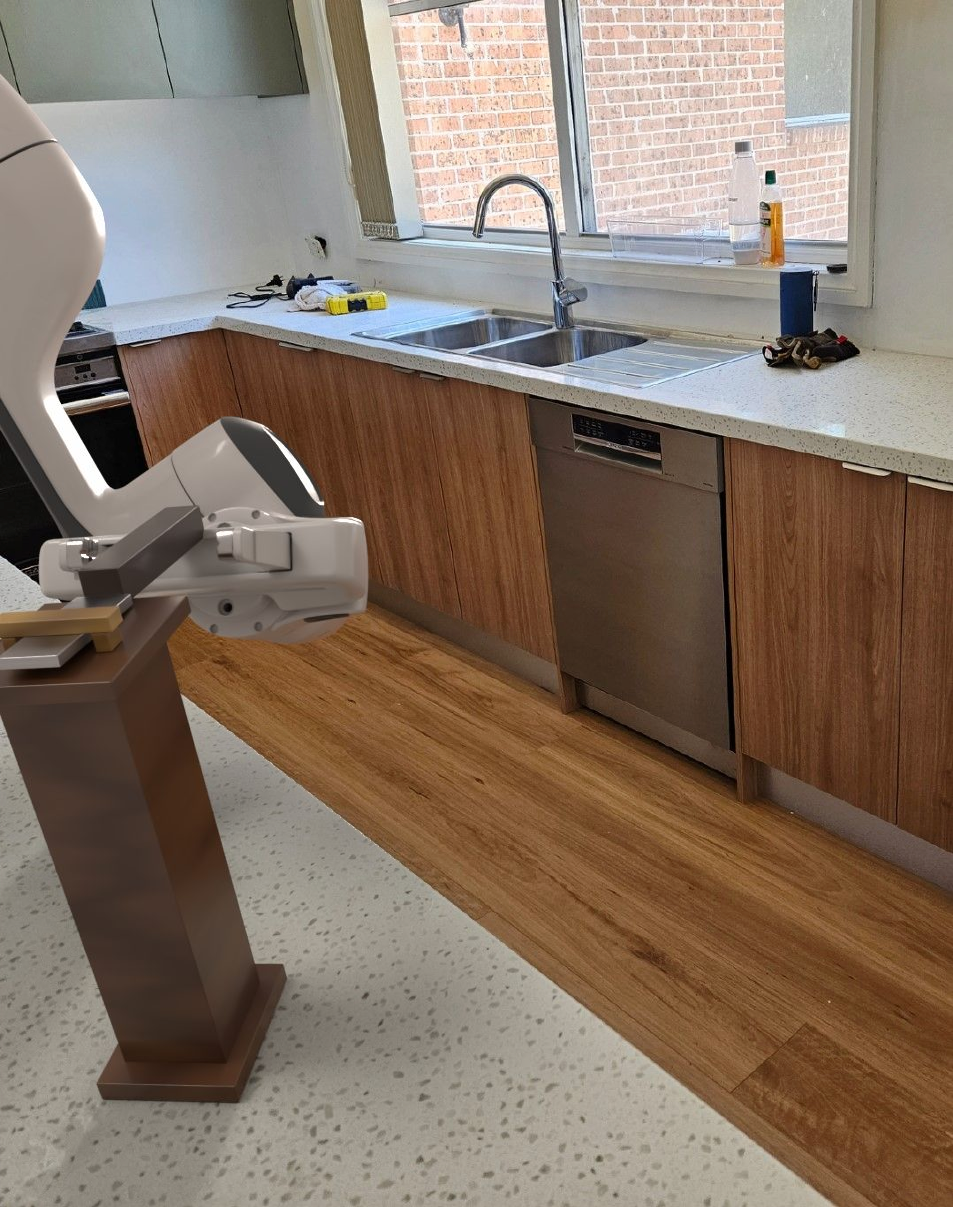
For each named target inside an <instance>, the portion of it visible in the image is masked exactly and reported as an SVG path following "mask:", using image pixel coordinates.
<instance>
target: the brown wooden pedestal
mask: <svg viewBox="0 0 953 1207" xmlns="http://www.w3.org/2000/svg"><path fill="white" fill-rule="evenodd" d="M69 602H70V601H66V602H51V603H50V602H48V603H44V604H42V605H41V606H40V607H39V608H38V609H37V610H28V611H27V610H26V611H11V612H1V613H0V639H1V643H0V655H1V654H3V653H4V652H5V651H7V650H8V649H9V648H11V647H12V646H13V645H15V644H16V643H17V642H18V641H20V640H21V639H22V638H24V637H30V636H48V635H66V634H85V633H92V634H91V635H92V638H93V639H92V640H91V641H90V642H89V643H88V644H87V645H85V646H84V647H83V648H82V649H81V650H80V651H78V652H77V653H76V654H75V655H74V656H73V657H72V658H70V659H69V660H68V661H67V662H66V663H65V664H63V665H62V666H61V667H56V668H36V669H15V670H0V719H1V722H2V725H3V727H4V730H5V733H6V735H7V738H8V741H9V744H10V746H11V749H12V750H11V751H12V752H13V754H14V758H15V761H16V764H17V766H18V769H19V772H20V775H21V777H22V780H23V783H24V785H25V788H26V791H27V794H28V797H29V799H30V803H31V806H32V807H33V810H34V813H35V817H36V819H37V822H38V824H39V828H40V831H41V833H42V835H43V836H42V837H43V838H44V841H45V844H46V846H47V850H48V852H49V855H50V858H51V860H52V864H53V866H54V869H55V872H56V874H57V877H58V880H59V884H60V885H61V888H62V891H63V894H64V896H65V900H66V902H67V905H68V908H69V911H70V914H71V916H72V919H73V921H74V924H75V927H76V930H77V933H78V936H79V939H80V941H81V944H82V947H83V950H84V951H85V955H86V958H87V960H88V963H89V967H90V970H91V971H92V975H93V977H94V980H95V982H96V986H97V988H98V991H99V994H100V997H101V999H102V1002H103V1006H104V1007H105V1010H106V1014H107V1016H108V1019H109V1022H110V1025H111V1027H112V1030H113V1034H114V1036H115V1038H116V1041H117V1044H116V1046H115V1047H114V1049H113V1051H112V1053H111V1055H110V1057H109V1059H108V1060H107V1063H106V1065H105V1067H104V1068H103V1070H102V1072H101V1074H100V1075H99V1078H98V1079H97V1081H96V1087H97V1089H98V1092H99V1095H100V1097H101V1099H102V1100H127V1101H128V1100H129V1101H130V1100H131V1101H133V1100H135V1101H170V1102H171V1101H173V1102H204V1103H205V1102H207V1103H209V1102H211V1103H240V1101H241V1099H242V1096H243V1093H244V1091H245V1089H246V1086H247V1083H248V1080H249V1078H250V1075H251V1072H252V1070H253V1067H254V1065H255V1062H256V1059H257V1057H258V1054H259V1052H260V1049H261V1046H262V1044H263V1042H264V1039H265V1037H266V1034H267V1031H268V1029H269V1026H270V1024H271V1021H272V1019H273V1016H274V1013H275V1011H276V1008H277V1005H278V1003H279V1000H280V998H281V995H282V992H283V990H284V987H285V985H286V982H287V979H288V977H287V972H286V968H285V965H284V963H255V962H256V961H255V959H254V955H253V951H252V947H251V944H250V941H249V936H248V933H247V929H246V926H245V922H244V919H243V915H242V911H241V908H240V904H239V901H238V897H237V893H236V889H235V885H234V883H233V878H232V875H231V872H230V867H229V864H228V860H227V857H226V853H225V849H224V847H223V842H222V838H221V835H220V831H219V827H218V825H217V824H218V823H217V820H216V817H215V812H214V809H213V807H212V802H211V799H210V796H209V792H208V788H207V784H206V781H205V776H204V773H203V770H202V766H201V761H200V759H199V754H198V751H197V748H196V745H195V741H194V736H193V734H192V731H191V726H190V722H189V720H188V715H187V711H186V707H185V704H184V700H183V697H182V692H181V690H180V685H179V682H178V678H177V675H176V671H175V668H174V664H173V660H172V657H171V656H172V655H171V654H170V649H169V645H168V640H169V639H170V638H171V637H172V636H173V635H174V634H175V632H177V630H178V629H179V628H180V627H181V625H182V624H183V623H184V621H185V620H186V619H187V618H189V616H188V615H189V614H190V613H191V608H190V604H189V601H188V597H187V595H181V596H164V597H148V598H133V599H132V602H133V605H132V606H131V607H129V608H128V609H127V610H126V611H125V612H124V613H122V614H121V612H120V609H119V606H111V607H94V608H77V609H62V608H63V607H64V606H66V605H67V604H68V603H69Z"/></svg>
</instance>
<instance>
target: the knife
mask: <svg viewBox="0 0 953 1207" xmlns="http://www.w3.org/2000/svg"><path fill="white" fill-rule="evenodd" d="M203 531H204V525H203V521H202V516H201V512H200V507H199V505H192V506H179V507H166V508H164V509H163V510H161V511H160V512H159V513H157V514H156V515H154V516H153V517H152V518H150V519H149V520H147V521H146V522H145V523H143V524H142V525H140V526H139V527H138V528H136V529H135V530H133V531H132V532H131V533H129V534H128V535H127V536H125V537H124V538H122V539H121V540H120V541H118V542H117V543H115V544H114V545H113V546H111V547H110V548H108V549H107V550H106V551H104V552H103V553H101V554H100V555H99V556H97V557H96V558H95V559H93V560H92V561H90V562H89V563H88V564H86V565H85V566H83V567H82V568H81V569H79V570H78V575H79V579H80V582H81V586H82V590H83V594H84V597H76V598H75V599H73V600H72V601H68V602H69V603H68V604H67V605H66V606H64V607H63V608H62V609H77V608H94V607H111V606H119V609H120V612H121V614H122V613H124V612H125V611H126V610H127V609H128V608H129V607H131V606H132V605H133V602H132V599H133V598H134V597H135V596H136V595H137V594H139V593H140V592H141V591H142V590H143V589H145V588H146V587H147V586H148V585H149V584H150V583H152V582H153V581H154V580H155V579H156V578H157V577H159V576H160V575H161V574H162V573H163V572H164V571H166V570H167V569H168V568H169V567H170V566H172V565H173V564H174V563H175V562H176V561H177V560H179V559H180V558H181V557H182V556H183V555H184V554H186V553H187V552H188V551H189V550H190V549H191V548H193V547H194V546H195V545H196V544H197V543H199V542H200V541H201V540H202V539H203ZM91 634H92V633H85V634H66V635H48V636H30V637H24V638H22V639H21V640H20V641H18V642H17V643H16V644H15V645H13V646H12V647H11V648H9V649H8V650H7V651H5V652H4V653H3V654H1V655H0V670H15V669H36V668H56V667H61V666H62V665H63V664H65V663H66V662H67V661H68V660H69V659H70V658H72V657H73V656H74V655H75V654H76V653H77V652H78V651H80V650H81V649H82V648H83V647H84V646H85V645H87V644H88V643H89V642H90V641H91V640H92V639H93V638H92V635H91Z"/></svg>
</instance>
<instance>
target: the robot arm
mask: <svg viewBox="0 0 953 1207" xmlns="http://www.w3.org/2000/svg"><path fill="white" fill-rule="evenodd" d="M106 233H107V232H106V224H105V218H104V213H103V210H102V207H101V206H100V204H99V202H98V200H97V198H96V195H95V194H94V192H93V191H92V190H91V187H90V186H89V185H88V183H87V181H86V179H85V178H84V176H83V175H82V173H81V172H80V170H79V169H78V167H77V166H76V164H75V163H74V162H73V160H72V158H70V156H69V154H68V153H67V152H66V151H65V149H64V147H63V146H62V145H61V144H60V143H59V141H58V140H57V138H55V136H54V135H53V134H52V132H51V131H50V130H49V128H48V127H47V126H46V124H45V123H44V121H42V119H41V118H40V117H39V116H38V115H37V114H36V112H35V111H34V110H33V109H32V107H31V106H30V105H29V104H28V103H27V102H26V100H25V99H24V97H22V95H21V94H19V93H18V91H17V90H16V89H15V88H14V87H13V86H12V85H11V83H9V81H8V80H7V79H6V78H5V77H4V76H3V75H2V73H0V432H1V433H2V435H3V437H4V438H5V440H6V441H7V443H8V445H9V447H10V448H11V451H13V453H14V455H15V457H16V458H17V460H18V462H19V463H20V465H21V467H22V468H23V471H24V472H25V474H26V475H27V477H28V479H29V480H30V482H31V483H32V485H33V487H34V488H35V490H36V492H37V493H38V495H39V496H40V499H41V500H42V501H43V503H44V505H45V507H46V509H47V510H48V512H49V514H50V515H51V517H52V519H53V521H54V522H55V524H56V526H57V528H58V530H59V532H60V534H61V536H62V538H53V539H48V540H46V541H45V542H43V544H42V545H41V547H40V550H39V558H38V560H39V561H38V579H39V581H38V582H39V587H40V588H39V589H40V591H41V594H42V595H43V596H44V597H46V598H48V599H52V600H61V601H69V602H71V601H72V600H73V599H75V598H76V597H84V594H83V590H82V586H81V582H80V579H79V575H78V570H79V569H81V568H82V567H83V566H85V565H86V564H88V563H89V562H90V561H92V560H93V559H95V558H96V557H97V556H99V555H100V554H101V553H103V552H104V551H106V550H107V549H108V548H110V547H111V546H113V545H114V544H115V543H117V542H118V541H120V540H121V539H122V538H124V537H125V536H127V535H128V534H129V533H131V532H132V531H133V530H135V529H136V528H138V527H139V526H140V525H142V524H143V523H145V522H146V521H147V520H149V519H150V518H152V517H153V516H154V515H156V514H157V513H159V512H160V511H161V510H163V509H164V508H166V507H179V506H192V505H199V507H200V512H201V516H202V521H203V525H204V531H203V539H202V540H201V541H200V542H199V543H197V544H196V545H195V546H194V547H193V548H191V549H190V550H189V551H188V552H187V553H186V554H184V555H183V556H182V557H181V558H180V559H179V560H177V561H176V562H175V563H174V564H173V565H172V566H170V567H169V568H168V569H167V570H166V571H164V572H163V573H162V574H161V575H160V576H159V577H157V578H156V579H155V580H154V581H153V582H152V583H150V584H149V585H148V586H147V587H146V588H145V589H143V590H142V591H141V592H140V593H139V594H137V595H136V596H135V597H134V598H148V597H164V596H181V595H187V597H188V601H189V604H190V608H191V613H190V614H189V615H188V618H190V619H191V620H192V621H193V623H195V624H196V625H197V626H198V627H200V628H201V629H203V630H204V631H206V632H208V633H210V634H212V635H215V636H219V637H223V638H230V639H239V640H245V641H246V640H247V641H256V642H268V643H273V644H281V645H303V644H310V643H313V642H314V643H315V642H317V641H321V640H323V639H326V638H328V637H330V636H332V635H334V634H335V633H336V632H338V631H339V630H340V629H341V628H342V627H343V626H344V624H346V622H348V620H349V618H350V617H351V616H360V615H362V614H363V615H364V613H366V611H367V605H368V593H369V557H368V544H367V537H366V531H365V530H366V529H365V525H364V522H363V521H362V520H360V519H358V518H355V517H348V516H347V517H341V516H326V512H325V501H324V498H323V495H322V493H321V491H320V488H319V487H318V485H317V482H316V481H315V479H314V477H313V475H312V474H311V472H310V470H309V469H308V468H307V466H306V465H305V464H304V462H303V460H301V458H300V457H299V456H298V455H297V453H296V452H295V451H294V450H293V449H292V448H291V447H290V446H289V444H288V443H286V442H285V441H284V440H283V439H282V438H281V437H280V436H279V435H277V434H276V433H275V432H274V431H272V430H271V429H270V428H268V427H267V426H266V425H264V424H261V423H258V422H256V421H253V420H249V419H247V418H243V417H239V416H238V417H237V416H221V417H220V418H219V419H218V420H216V421H214V422H212V423H211V424H209V425H208V426H206V427H205V428H204V429H202V430H200V431H199V432H198V433H196V434H194V435H193V436H192V437H190V438H189V439H187V440H186V441H184V442H183V443H181V444H180V445H179V446H178V447H175V449H173V450H172V452H171V453H170V454H168V455H167V456H165V458H163V459H162V460H160V461H159V462H157V463H156V464H155V465H153V466H152V467H150V468H149V469H148V470H146V471H145V472H143V473H142V474H140V475H139V476H138V477H135V479H133V480H132V481H130V482H129V483H128V484H126V485H125V486H123V487H120V488H116V489H114V488H112V487H110V486H109V485H108V483H107V482H106V480H105V478H104V476H103V475H102V473H101V471H100V470H99V468H98V467H97V464H96V463H95V461H94V459H93V458H92V456H91V454H90V452H89V451H88V449H87V447H86V445H85V444H84V442H83V440H82V439H81V437H80V435H79V433H78V431H77V430H76V428H75V426H74V425H73V422H72V421H71V419H70V417H69V416H68V414H67V413H66V411H65V408H64V407H63V405H62V404H61V402H60V401H61V400H60V399H59V396H58V394H57V391H56V390H57V389H56V385H55V371H56V370H55V369H56V365H57V364H56V363H57V359H58V355H59V353H60V350H61V348H62V346H63V343H64V341H65V339H66V337H67V335H68V333H69V331H70V329H71V328H72V327H73V325H74V323H75V321H76V319H77V318H78V316H79V315H80V313H81V311H82V310H83V307H84V306H85V304H86V303H87V301H88V299H89V297H90V295H91V294H92V292H93V290H94V287H95V286H96V283H97V281H98V279H99V276H100V273H101V270H102V267H103V262H104V257H105V251H106V245H107V244H106V240H107V239H106V238H107V234H106Z"/></svg>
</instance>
